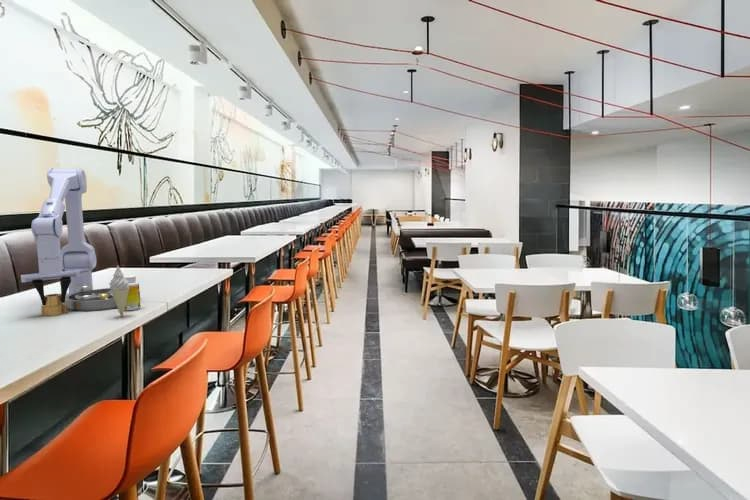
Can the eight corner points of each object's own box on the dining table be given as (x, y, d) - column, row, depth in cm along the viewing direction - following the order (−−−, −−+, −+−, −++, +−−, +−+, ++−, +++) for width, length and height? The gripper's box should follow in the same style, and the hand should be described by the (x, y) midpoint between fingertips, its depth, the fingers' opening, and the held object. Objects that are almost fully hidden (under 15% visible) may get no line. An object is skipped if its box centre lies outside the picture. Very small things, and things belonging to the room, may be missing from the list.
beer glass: (142, 309, 152) (140, 276, 150) (122, 312, 148) (120, 278, 147) (137, 306, 156) (135, 274, 155) (118, 308, 152) (116, 276, 151)
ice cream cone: (116, 314, 146) (112, 263, 144) (134, 313, 146) (131, 263, 144) (108, 318, 141) (105, 266, 139) (127, 318, 141) (123, 265, 139)
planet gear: (41, 313, 148) (39, 294, 147) (65, 309, 151) (63, 292, 151) (42, 317, 143) (41, 298, 142) (67, 313, 146) (66, 295, 146)
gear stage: (62, 302, 162) (60, 283, 161) (131, 294, 174) (130, 276, 174) (70, 314, 145) (68, 293, 144) (146, 304, 158) (145, 284, 157)
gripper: (20, 261, 138) (24, 309, 139) (80, 257, 146) (83, 302, 148) (18, 259, 143) (23, 305, 145) (76, 255, 152) (80, 298, 153)
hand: (53, 303), depth 147 cm, fingers closed on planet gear, 4 cm apart
